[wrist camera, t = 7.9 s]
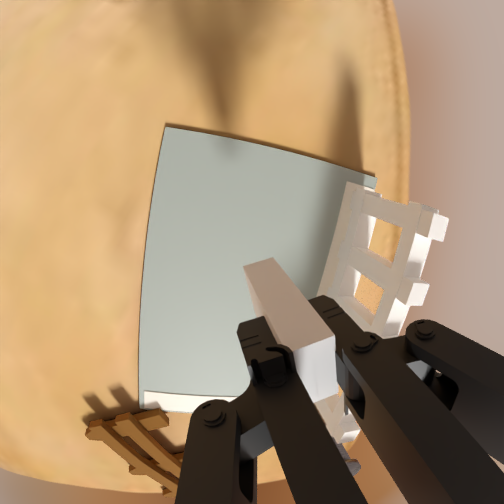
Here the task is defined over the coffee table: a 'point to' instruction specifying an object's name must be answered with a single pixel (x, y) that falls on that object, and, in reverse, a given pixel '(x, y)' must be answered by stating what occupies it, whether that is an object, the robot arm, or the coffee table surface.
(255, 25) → the coffee table surface
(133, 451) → the decorative fence
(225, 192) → the board
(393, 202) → the fence panel
